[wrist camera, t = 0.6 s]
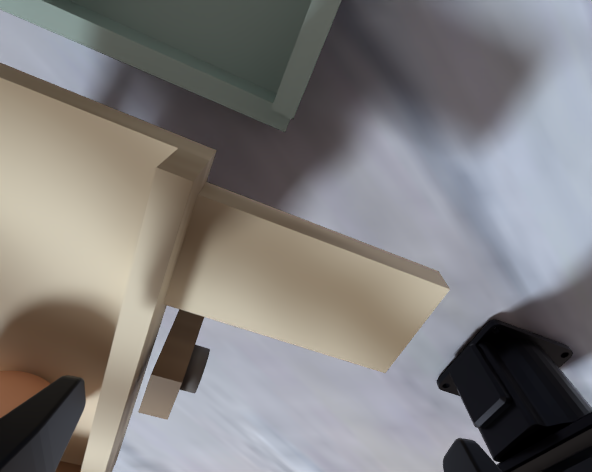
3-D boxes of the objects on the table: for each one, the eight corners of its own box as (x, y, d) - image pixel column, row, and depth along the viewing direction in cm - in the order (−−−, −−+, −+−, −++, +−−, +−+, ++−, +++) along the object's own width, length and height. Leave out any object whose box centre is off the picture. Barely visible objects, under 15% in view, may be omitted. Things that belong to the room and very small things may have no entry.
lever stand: (223, 284, 21) (177, 440, 13) (27, 219, 19) (-180, 354, 11) (245, 229, 19) (209, 367, 11) (33, 151, 17) (-209, 248, 9)
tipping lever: (275, 456, 20) (270, 583, 15) (-12, 385, 17) (-129, 514, 12) (434, 220, 13) (514, 319, 8) (-2, 39, 10) (-254, 32, 6)
